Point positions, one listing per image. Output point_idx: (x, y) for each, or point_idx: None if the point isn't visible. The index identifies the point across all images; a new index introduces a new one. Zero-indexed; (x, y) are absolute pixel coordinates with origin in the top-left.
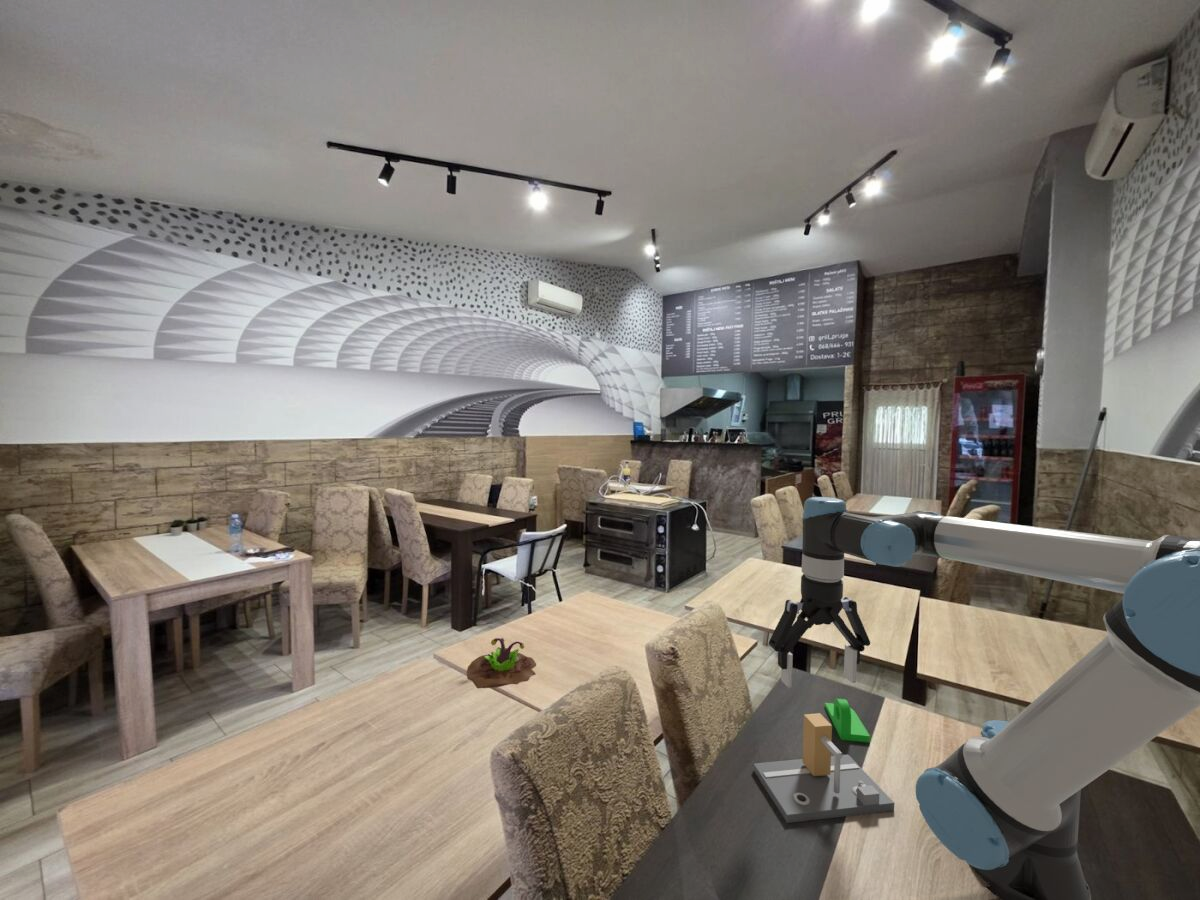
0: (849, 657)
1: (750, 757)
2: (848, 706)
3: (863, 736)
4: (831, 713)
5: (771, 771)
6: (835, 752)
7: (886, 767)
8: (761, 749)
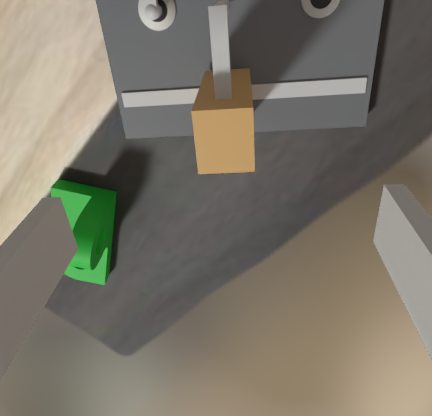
0: (12, 300)
1: (342, 159)
2: None
3: (65, 189)
4: (105, 256)
5: (338, 97)
6: (226, 15)
7: (52, 109)
8: (304, 180)
